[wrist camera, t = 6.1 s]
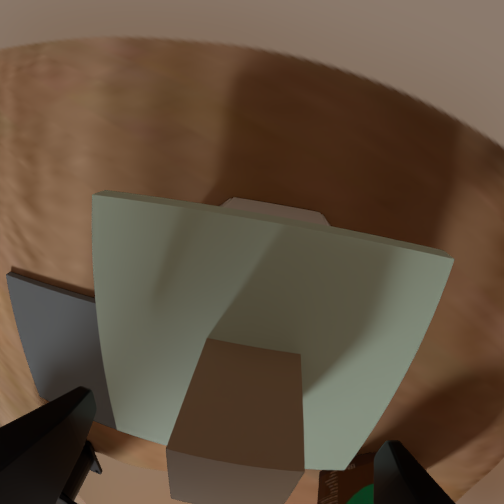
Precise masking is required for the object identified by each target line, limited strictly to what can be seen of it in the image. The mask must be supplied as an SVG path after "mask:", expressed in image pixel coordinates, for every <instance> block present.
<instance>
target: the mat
mask: <svg viewBox="0 0 504 504" xmlns="http://www.w3.org/2000/svg"><path fill="white" fill-rule="evenodd" d="M6 278H7V284H8V289H9V294H10V299H11V303H12V308H13V312H14V316H15V320H16V324H17V328H18V332H19V335H20V339H21V342H22V346H23V349H24V352H25V356H26V359H27V362H28V365H29V368H30V371H31V374H32V377H33V379H34V382H35V385H36V387H37V390H38V393H39V395H40V397H42V398H44V399H46V400H48V401H52V400H54V399H56V398H58V397H60V396H62V395H64V394H65V393H67V392H69V391H71V390H73V389H75V388H77V387H79V386H83V387H86V388H89V389H91V390H92V391H93V394H94V398H95V402H96V406H97V411H96V414H95V417H94V420H93V421H95V422H98V423H100V424H103V425H106V426H108V427H111V428H114V429H116V430H117V427H116V423H115V419H114V415H113V411H112V406H111V401H110V397H109V392H108V387H107V381H106V376H105V370H104V364H103V358H102V352H101V345H100V338H99V330H98V321H97V312H96V302H95V298H92V297H89V296H85V295H82V294H78V293H75V292H72V291H68V290H65V289H62V288H58V287H55V286H52V285H49V284H46V283H42V282H39V281H36V280H33V279H30V278H27V277H24V276H21V275H18V274H15V273H13V272H9V273H8V274H6Z"/></svg>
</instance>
